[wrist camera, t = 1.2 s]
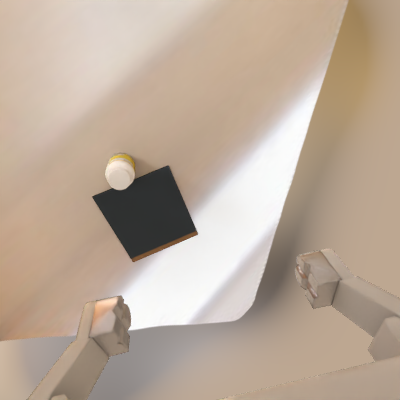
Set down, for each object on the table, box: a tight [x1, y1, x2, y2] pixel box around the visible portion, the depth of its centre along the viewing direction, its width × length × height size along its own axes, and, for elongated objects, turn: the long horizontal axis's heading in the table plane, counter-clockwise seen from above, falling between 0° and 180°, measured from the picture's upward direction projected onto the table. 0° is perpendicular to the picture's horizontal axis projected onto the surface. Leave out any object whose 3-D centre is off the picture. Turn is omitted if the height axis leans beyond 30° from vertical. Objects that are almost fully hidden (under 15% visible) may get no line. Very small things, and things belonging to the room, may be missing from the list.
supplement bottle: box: [105, 153, 135, 190], centre depth 49 cm, size 5×5×10 cm
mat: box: [93, 166, 198, 262], centre depth 59 cm, size 20×18×1 cm
